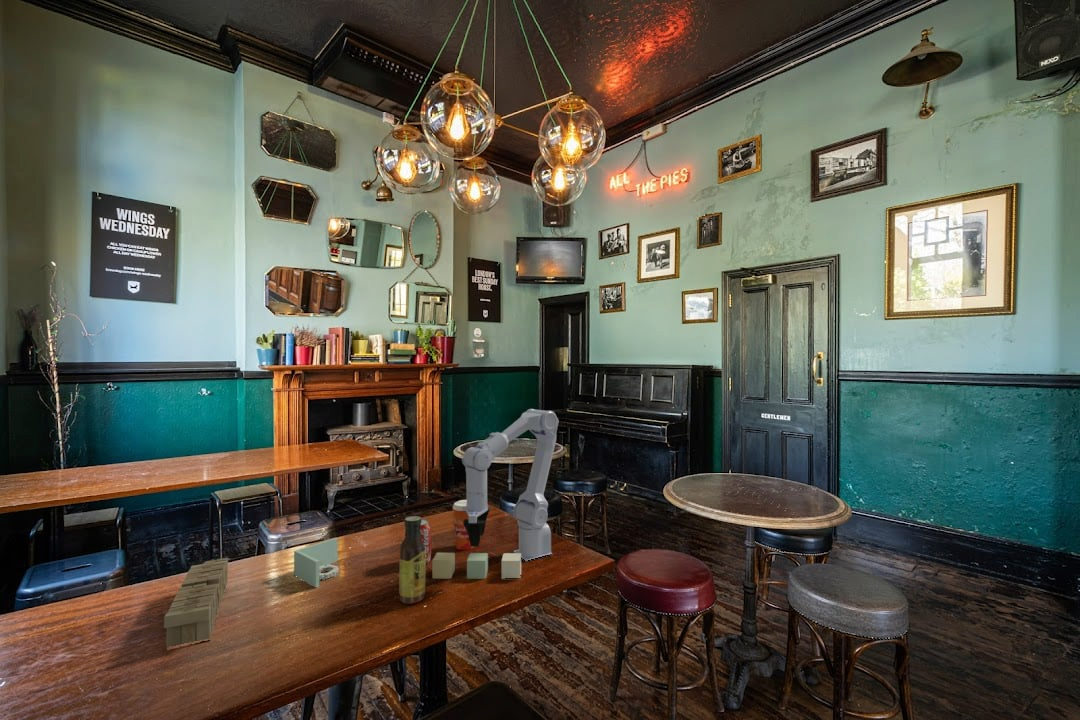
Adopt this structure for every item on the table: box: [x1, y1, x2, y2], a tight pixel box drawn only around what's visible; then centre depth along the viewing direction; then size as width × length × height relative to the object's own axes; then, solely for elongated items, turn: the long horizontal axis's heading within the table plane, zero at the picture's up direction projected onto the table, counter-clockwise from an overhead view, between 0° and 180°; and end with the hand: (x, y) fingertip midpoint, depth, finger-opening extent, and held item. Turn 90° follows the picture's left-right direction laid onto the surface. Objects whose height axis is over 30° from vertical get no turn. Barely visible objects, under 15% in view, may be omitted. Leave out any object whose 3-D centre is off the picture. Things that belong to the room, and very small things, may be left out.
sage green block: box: [466, 552, 489, 580], centre depth 128 cm, size 5×5×5 cm
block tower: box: [163, 557, 229, 647], centre depth 108 cm, size 8×8×29 cm
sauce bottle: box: [398, 515, 427, 605], centre depth 115 cm, size 6×6×20 cm
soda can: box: [421, 518, 432, 565], centre depth 136 cm, size 7×7×12 cm
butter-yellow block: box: [431, 552, 456, 580], centre depth 128 cm, size 5×5×5 cm
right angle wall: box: [293, 537, 340, 588], centre depth 129 cm, size 12×12×8 cm
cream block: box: [501, 552, 522, 580], centre depth 128 cm, size 5×5×5 cm
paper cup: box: [452, 499, 475, 551], centre depth 147 cm, size 8×8×14 cm
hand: (477, 540), depth 128 cm, fingers open, 7 cm apart
